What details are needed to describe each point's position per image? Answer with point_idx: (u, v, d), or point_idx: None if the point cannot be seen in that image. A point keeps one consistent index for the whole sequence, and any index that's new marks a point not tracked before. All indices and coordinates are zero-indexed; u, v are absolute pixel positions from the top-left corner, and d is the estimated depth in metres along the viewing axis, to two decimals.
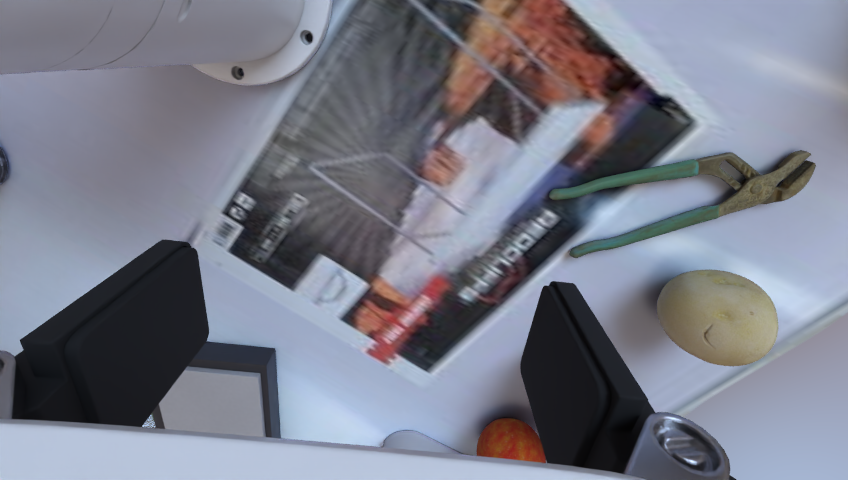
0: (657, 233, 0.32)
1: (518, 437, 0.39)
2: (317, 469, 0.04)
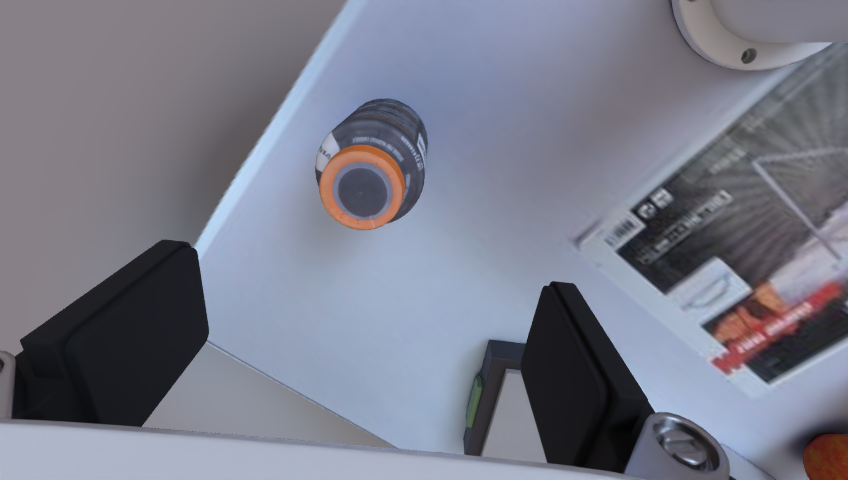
0: None
1: None
2: (317, 469, 0.04)
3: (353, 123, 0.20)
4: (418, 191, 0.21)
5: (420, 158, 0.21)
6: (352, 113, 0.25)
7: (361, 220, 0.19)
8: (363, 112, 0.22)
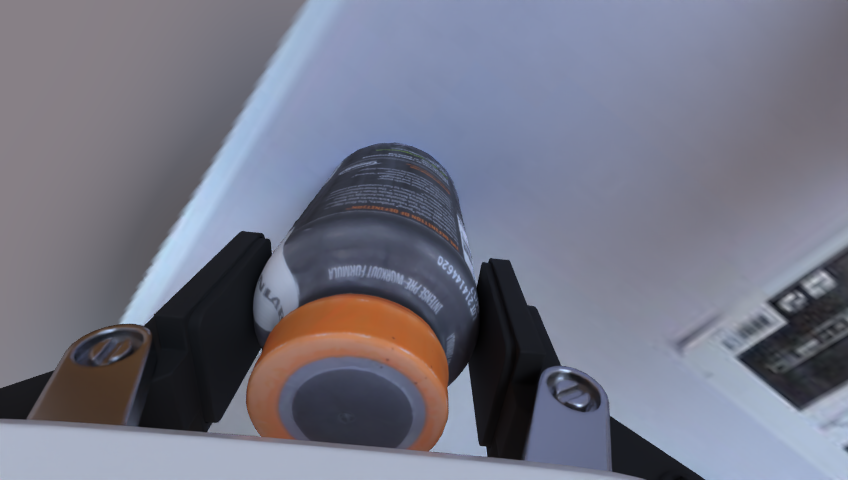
0: None
1: None
2: (317, 469, 0.04)
3: (330, 231, 0.09)
4: (469, 356, 0.10)
5: (475, 293, 0.10)
6: (333, 176, 0.14)
7: None
8: (352, 188, 0.11)
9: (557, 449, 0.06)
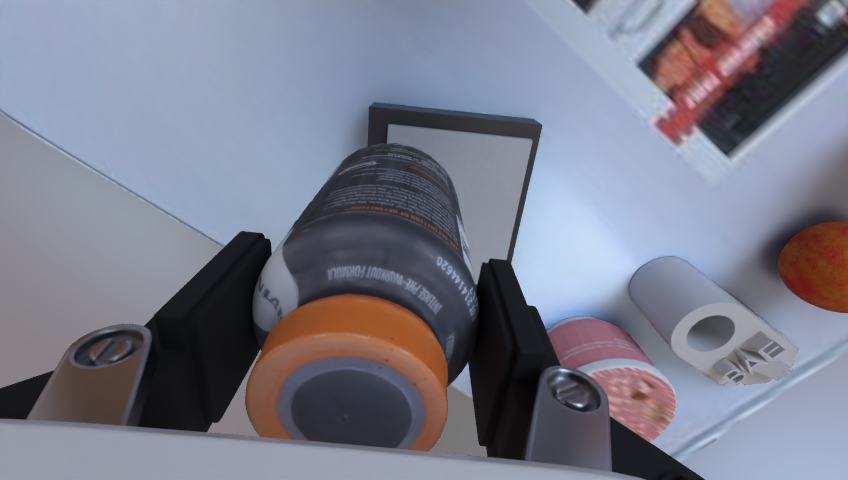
0: None
1: None
2: (317, 469, 0.04)
3: (329, 232, 0.09)
4: (468, 357, 0.10)
5: (474, 293, 0.10)
6: (333, 176, 0.14)
7: None
8: (352, 189, 0.11)
9: (557, 449, 0.06)
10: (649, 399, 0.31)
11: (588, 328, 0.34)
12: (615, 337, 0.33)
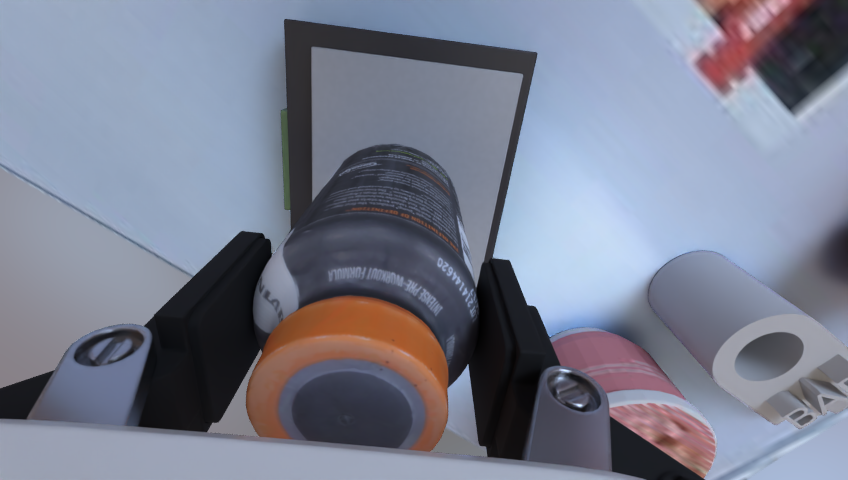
0: None
1: None
2: (317, 469, 0.04)
3: (330, 234, 0.09)
4: (468, 358, 0.10)
5: (474, 295, 0.10)
6: (333, 177, 0.14)
7: None
8: (352, 190, 0.11)
9: (557, 449, 0.06)
10: (679, 445, 0.22)
11: (595, 345, 0.25)
12: (631, 357, 0.24)
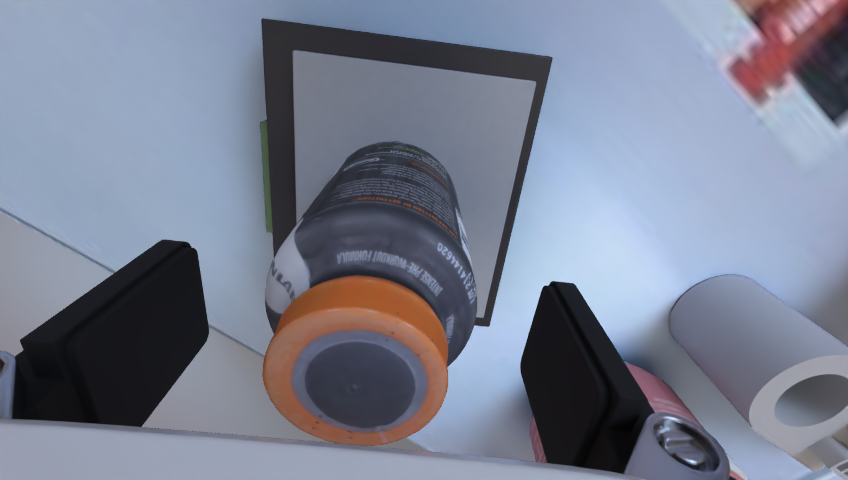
0: None
1: None
2: (317, 469, 0.04)
3: (338, 220, 0.09)
4: (467, 338, 0.11)
5: (472, 278, 0.10)
6: (338, 172, 0.15)
7: (358, 432, 0.09)
8: (357, 182, 0.12)
9: None
10: None
11: None
12: (654, 395, 0.22)
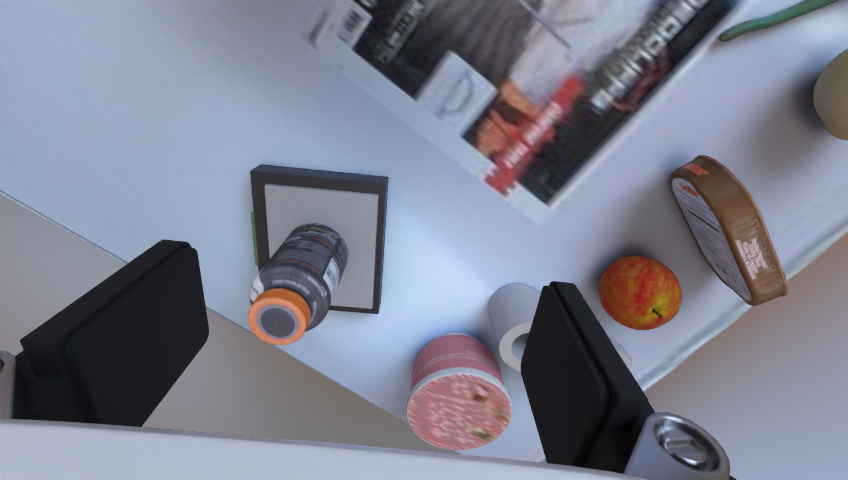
0: (821, 2, 0.30)
1: (652, 263, 0.36)
2: (317, 469, 0.04)
3: (273, 269, 0.28)
4: (324, 310, 0.29)
5: (324, 288, 0.29)
6: (283, 242, 0.33)
7: (279, 339, 0.27)
8: (285, 251, 0.30)
9: None
10: (487, 400, 0.38)
11: (449, 342, 0.41)
12: (467, 350, 0.40)
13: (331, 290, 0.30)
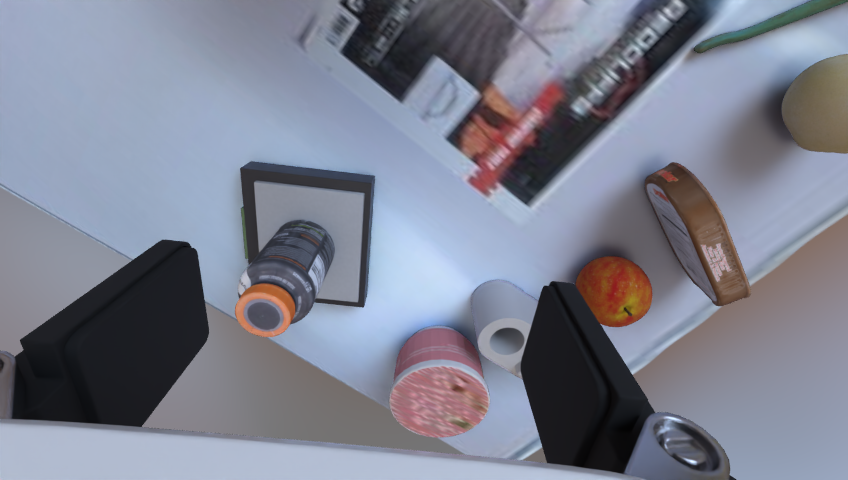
0: (791, 18, 0.31)
1: (626, 264, 0.38)
2: (317, 469, 0.04)
3: (260, 265, 0.29)
4: (309, 304, 0.31)
5: (309, 283, 0.30)
6: (272, 238, 0.34)
7: (265, 331, 0.29)
8: (273, 248, 0.32)
9: None
10: (466, 391, 0.40)
11: (432, 335, 0.43)
12: (449, 343, 0.42)
13: (316, 285, 0.32)
